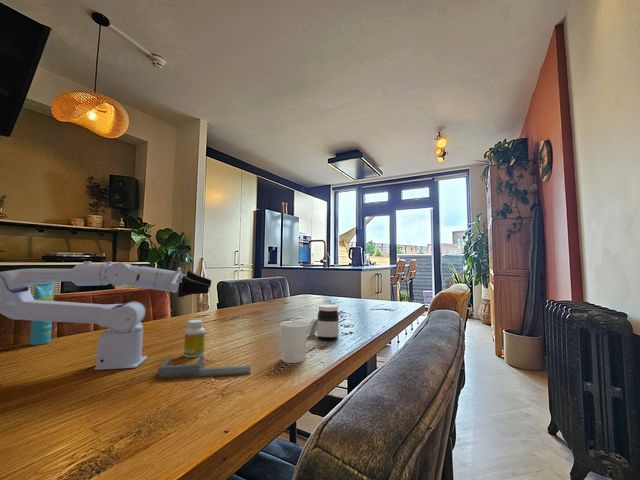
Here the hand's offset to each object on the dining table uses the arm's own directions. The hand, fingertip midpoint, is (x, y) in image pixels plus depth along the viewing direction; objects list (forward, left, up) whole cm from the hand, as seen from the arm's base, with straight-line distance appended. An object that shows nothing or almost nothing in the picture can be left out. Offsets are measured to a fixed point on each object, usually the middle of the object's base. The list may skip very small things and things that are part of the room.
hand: (209, 286), depth 85 cm
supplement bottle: (-4, +3, -20) cm, 21 cm away
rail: (+2, -10, -20) cm, 23 cm away
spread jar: (+37, +16, -20) cm, 45 cm away
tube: (-54, +22, -20) cm, 62 cm away
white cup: (+24, -5, -20) cm, 32 cm away
